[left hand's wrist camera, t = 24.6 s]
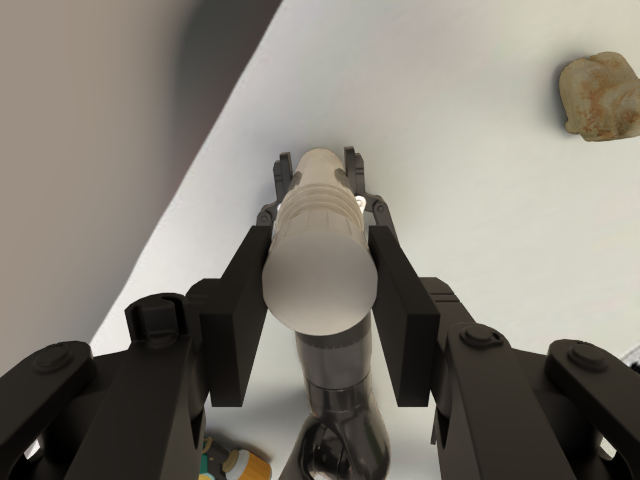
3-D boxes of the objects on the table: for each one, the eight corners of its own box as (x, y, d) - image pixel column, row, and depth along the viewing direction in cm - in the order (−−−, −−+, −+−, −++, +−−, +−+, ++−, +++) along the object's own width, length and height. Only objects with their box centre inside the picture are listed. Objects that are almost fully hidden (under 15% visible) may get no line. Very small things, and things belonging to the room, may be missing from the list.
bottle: (334, 198, 36) (359, 341, 14) (292, 186, 36) (244, 313, 13) (348, 155, 35) (401, 235, 12) (304, 142, 34) (272, 199, 12)
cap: (347, 313, 15) (351, 350, 13) (257, 283, 15) (245, 316, 12) (385, 230, 14) (399, 254, 11) (288, 194, 13) (281, 212, 11)
